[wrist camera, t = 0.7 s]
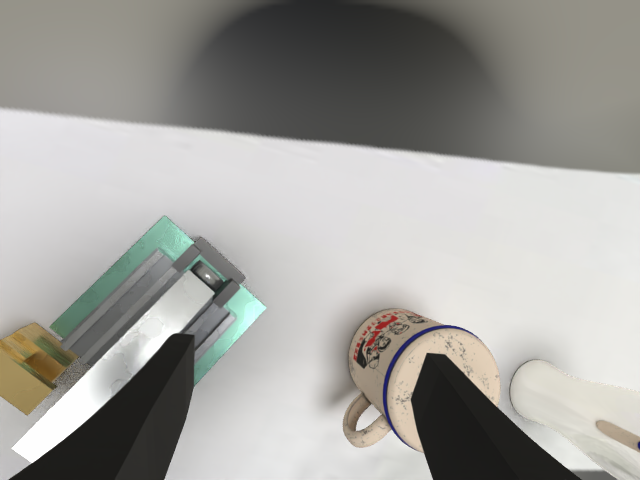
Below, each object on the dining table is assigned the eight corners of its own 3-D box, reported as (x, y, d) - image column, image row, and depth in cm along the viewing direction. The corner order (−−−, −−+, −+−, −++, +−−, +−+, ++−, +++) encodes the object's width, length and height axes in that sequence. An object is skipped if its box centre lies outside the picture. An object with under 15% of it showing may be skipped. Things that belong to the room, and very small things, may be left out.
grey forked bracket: (220, 299, 32) (220, 309, 27) (177, 261, 31) (170, 265, 27) (243, 275, 32) (247, 281, 28) (202, 237, 31) (199, 237, 27)
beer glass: (541, 434, 40) (725, 548, 25) (493, 402, 38) (660, 502, 24) (572, 375, 41) (767, 452, 26) (527, 342, 39) (707, 403, 25)
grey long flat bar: (51, 470, 22) (49, 476, 21) (15, 444, 22) (10, 449, 21) (222, 283, 29) (225, 281, 28) (197, 260, 28) (200, 257, 28)
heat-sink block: (165, 415, 31) (159, 434, 28) (51, 326, 29) (32, 335, 26) (265, 306, 33) (270, 313, 30) (165, 215, 31) (159, 213, 28)
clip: (53, 392, 29) (20, 421, 24) (-1, 352, 28) (-45, 374, 23) (84, 360, 29) (58, 384, 25) (32, 320, 28) (-5, 336, 24)
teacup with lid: (401, 285, 36) (484, 307, 24) (452, 359, 37) (553, 413, 26) (299, 370, 33) (338, 437, 22) (357, 446, 35) (422, 546, 23)
